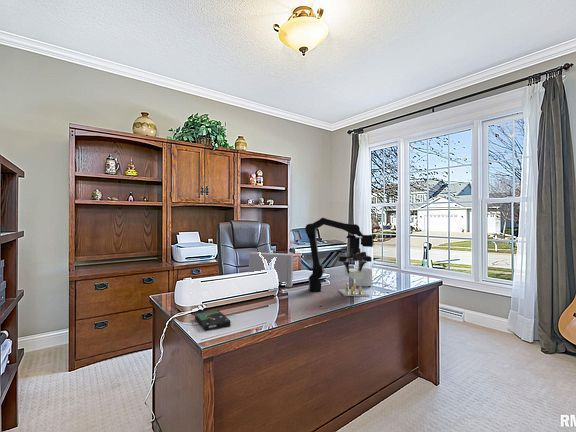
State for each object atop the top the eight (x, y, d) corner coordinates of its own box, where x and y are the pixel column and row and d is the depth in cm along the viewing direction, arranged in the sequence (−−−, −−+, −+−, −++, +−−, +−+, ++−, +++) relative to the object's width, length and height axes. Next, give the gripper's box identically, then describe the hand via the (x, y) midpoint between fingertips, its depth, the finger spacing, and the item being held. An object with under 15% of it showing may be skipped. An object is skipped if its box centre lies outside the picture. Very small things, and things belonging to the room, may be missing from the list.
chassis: (344, 296, 162) (345, 287, 162) (338, 291, 174) (338, 282, 174) (369, 296, 164) (369, 287, 164) (361, 290, 176) (361, 282, 176)
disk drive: (231, 327, 116) (218, 316, 129) (231, 320, 116) (218, 309, 129) (204, 333, 111) (194, 320, 123) (205, 325, 111) (194, 313, 123)
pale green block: (353, 279, 162) (353, 272, 162) (344, 274, 174) (344, 268, 174) (363, 278, 164) (363, 272, 164) (354, 274, 175) (354, 268, 175)
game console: (290, 287, 181) (291, 255, 181) (248, 284, 186) (248, 253, 186) (292, 285, 186) (293, 253, 186) (251, 282, 192) (251, 252, 192)
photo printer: (371, 285, 190) (371, 266, 190) (372, 287, 186) (373, 267, 186) (355, 284, 191) (355, 265, 191) (356, 286, 187) (356, 266, 187)
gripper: (342, 247, 160) (342, 276, 160) (375, 247, 162) (375, 276, 162) (336, 245, 171) (336, 272, 171) (367, 245, 173) (367, 272, 173)
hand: (353, 273), depth 169 cm, fingers closed on pale green block, 6 cm apart
